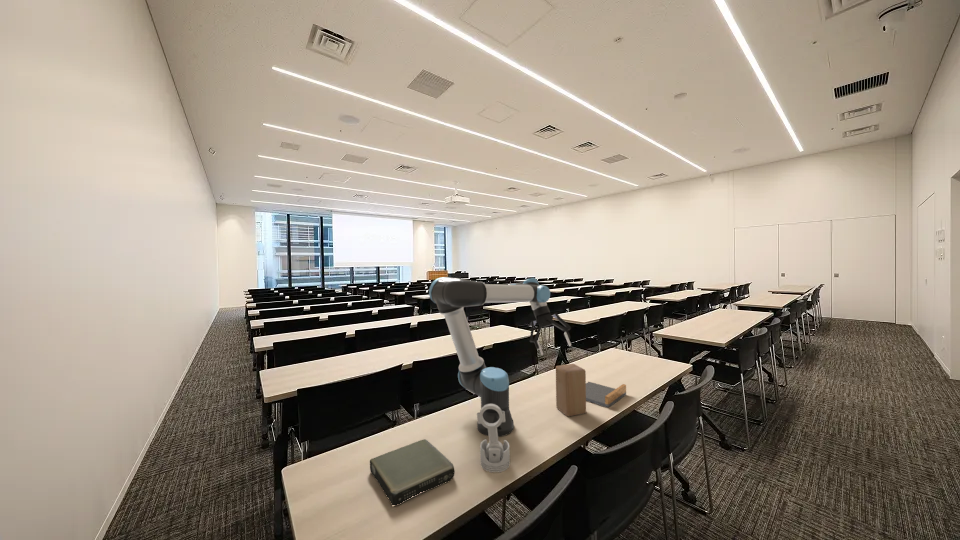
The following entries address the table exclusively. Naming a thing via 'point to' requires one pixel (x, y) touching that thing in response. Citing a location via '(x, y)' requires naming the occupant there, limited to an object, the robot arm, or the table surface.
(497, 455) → the engine component
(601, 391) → the mounting plate
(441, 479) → the network switch
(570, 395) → the wooden block
